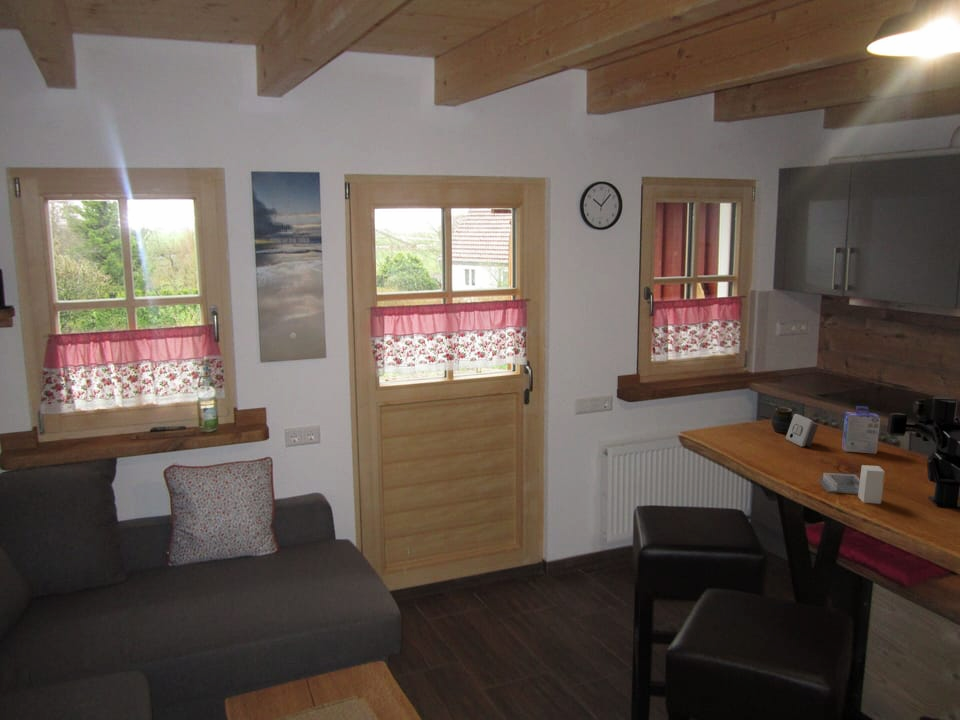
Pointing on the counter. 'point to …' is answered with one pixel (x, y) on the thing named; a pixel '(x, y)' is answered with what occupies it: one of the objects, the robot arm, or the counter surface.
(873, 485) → the block
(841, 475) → the rail cradle
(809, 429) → the electrical switch
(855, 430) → the ink cartridge box
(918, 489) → the counter surface
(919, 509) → the counter surface
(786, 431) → the mate gourd
